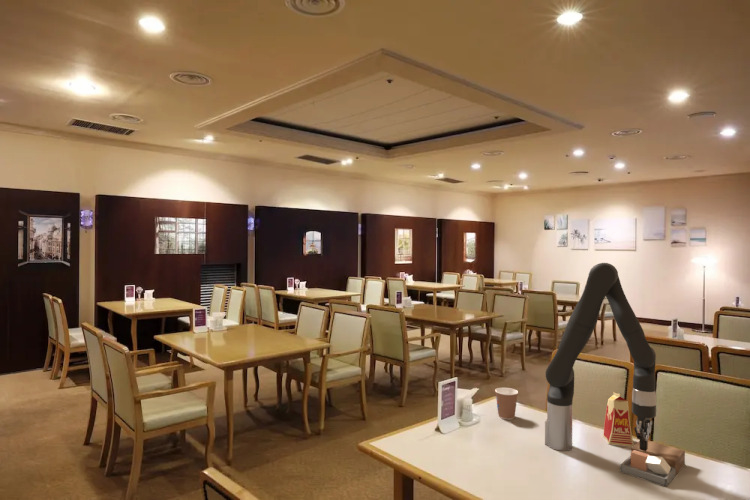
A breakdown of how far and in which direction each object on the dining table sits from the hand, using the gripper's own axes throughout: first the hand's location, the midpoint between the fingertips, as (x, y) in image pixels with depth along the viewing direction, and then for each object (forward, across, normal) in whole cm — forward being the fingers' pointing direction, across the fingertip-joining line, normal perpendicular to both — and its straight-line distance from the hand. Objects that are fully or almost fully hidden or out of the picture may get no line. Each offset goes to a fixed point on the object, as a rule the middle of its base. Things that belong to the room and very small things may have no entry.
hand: (643, 449), depth 167 cm
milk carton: (+6, -16, -14) cm, 22 cm away
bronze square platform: (+6, -6, +3) cm, 9 cm away
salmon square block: (+2, +3, 0) cm, 4 cm away
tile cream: (+1, +5, +6) cm, 8 cm away
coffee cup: (+6, -7, -59) cm, 60 cm away
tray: (+6, +6, +3) cm, 9 cm away
